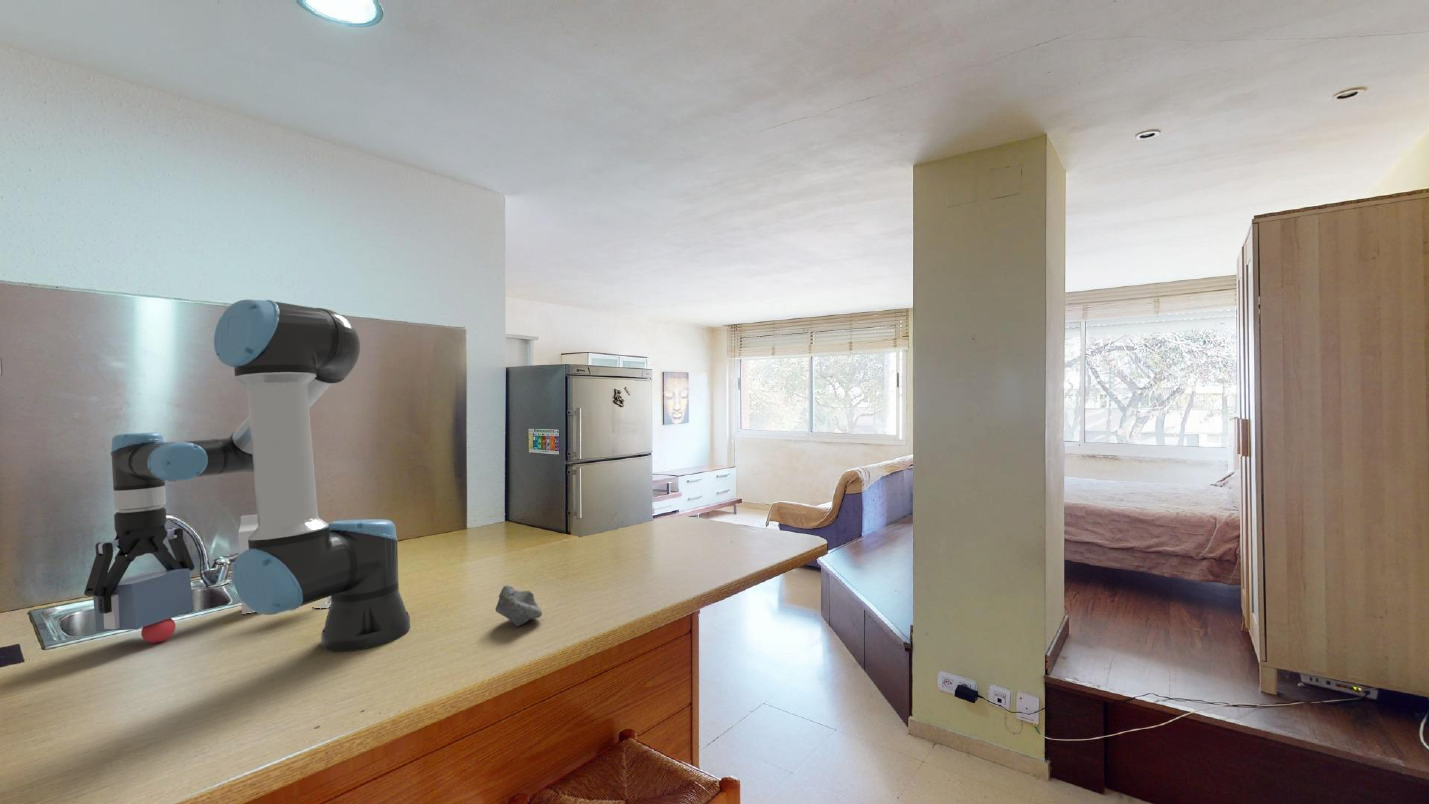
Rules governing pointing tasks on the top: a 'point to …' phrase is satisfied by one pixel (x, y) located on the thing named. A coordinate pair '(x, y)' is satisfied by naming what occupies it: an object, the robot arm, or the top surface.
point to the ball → (158, 631)
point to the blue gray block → (150, 599)
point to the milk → (246, 541)
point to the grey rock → (517, 605)
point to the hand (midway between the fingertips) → (144, 617)
